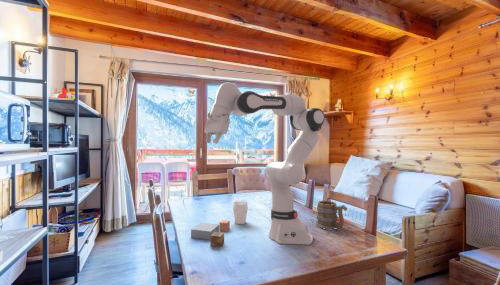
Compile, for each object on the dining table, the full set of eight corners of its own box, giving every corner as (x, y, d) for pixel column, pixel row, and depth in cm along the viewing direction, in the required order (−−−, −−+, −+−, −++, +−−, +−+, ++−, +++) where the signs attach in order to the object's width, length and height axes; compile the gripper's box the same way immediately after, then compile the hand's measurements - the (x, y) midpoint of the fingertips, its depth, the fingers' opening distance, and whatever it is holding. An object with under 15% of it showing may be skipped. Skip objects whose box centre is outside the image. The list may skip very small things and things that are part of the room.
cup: (239, 219, 152) (239, 200, 152) (250, 221, 147) (250, 202, 147) (229, 222, 145) (230, 203, 145) (241, 225, 139) (241, 205, 139)
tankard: (311, 224, 143) (311, 199, 143) (326, 221, 148) (326, 197, 149) (337, 235, 125) (337, 207, 125) (353, 232, 131) (353, 204, 131)
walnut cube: (224, 243, 115) (224, 232, 115) (220, 247, 110) (220, 236, 110) (214, 241, 116) (214, 231, 116) (210, 246, 111) (210, 235, 111)
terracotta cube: (229, 228, 135) (229, 220, 135) (226, 231, 131) (226, 223, 131) (222, 227, 136) (222, 220, 136) (219, 230, 132) (219, 222, 132)
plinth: (219, 231, 129) (219, 224, 129) (210, 239, 119) (210, 231, 119) (200, 229, 132) (200, 222, 132) (191, 237, 122) (191, 229, 122)
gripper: (236, 115, 103) (226, 145, 101) (217, 118, 121) (209, 144, 119) (223, 110, 100) (213, 141, 98) (206, 114, 117) (198, 140, 115)
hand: (211, 143), depth 108 cm, fingers open, 8 cm apart
